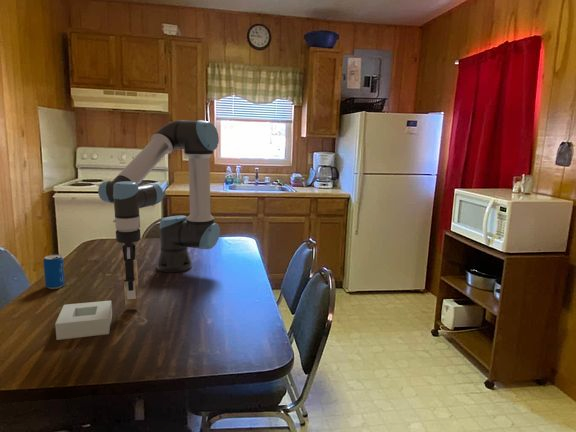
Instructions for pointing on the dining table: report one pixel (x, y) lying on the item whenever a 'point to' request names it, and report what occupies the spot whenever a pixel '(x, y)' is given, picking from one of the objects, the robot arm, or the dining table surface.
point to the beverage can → (54, 271)
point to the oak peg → (135, 302)
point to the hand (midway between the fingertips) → (131, 295)
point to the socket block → (84, 320)
